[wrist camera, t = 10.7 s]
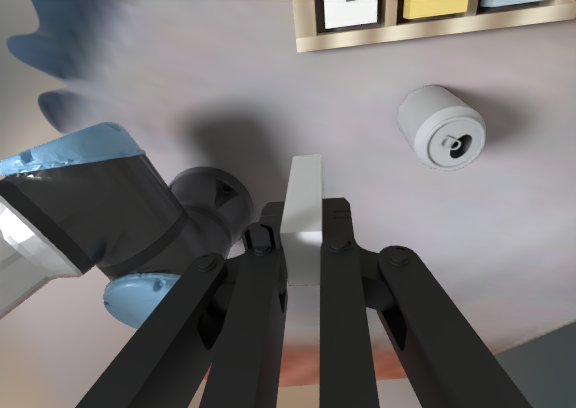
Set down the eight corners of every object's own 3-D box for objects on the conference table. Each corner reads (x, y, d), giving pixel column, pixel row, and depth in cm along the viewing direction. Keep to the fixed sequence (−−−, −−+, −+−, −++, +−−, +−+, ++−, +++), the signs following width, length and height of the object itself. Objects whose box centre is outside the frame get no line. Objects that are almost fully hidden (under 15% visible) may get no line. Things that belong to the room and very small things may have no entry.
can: (432, 144, 46) (464, 185, 36) (386, 127, 45) (404, 164, 35) (464, 95, 42) (510, 125, 32) (414, 75, 41) (444, 100, 31)
